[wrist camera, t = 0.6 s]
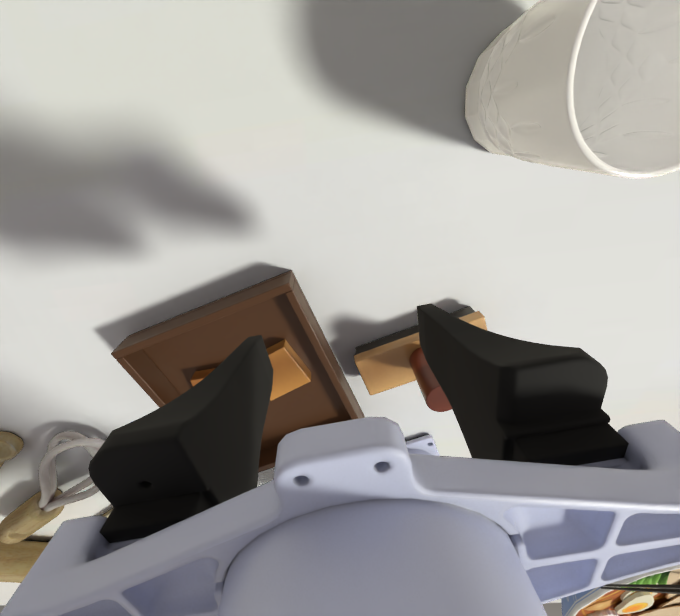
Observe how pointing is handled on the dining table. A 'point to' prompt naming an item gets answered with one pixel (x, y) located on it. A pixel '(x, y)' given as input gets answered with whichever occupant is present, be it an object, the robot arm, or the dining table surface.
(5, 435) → the toy baking set
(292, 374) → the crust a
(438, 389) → the wooden stamp
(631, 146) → the white cup
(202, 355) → the tray
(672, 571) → the ramen bowl
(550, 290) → the dining table surface
